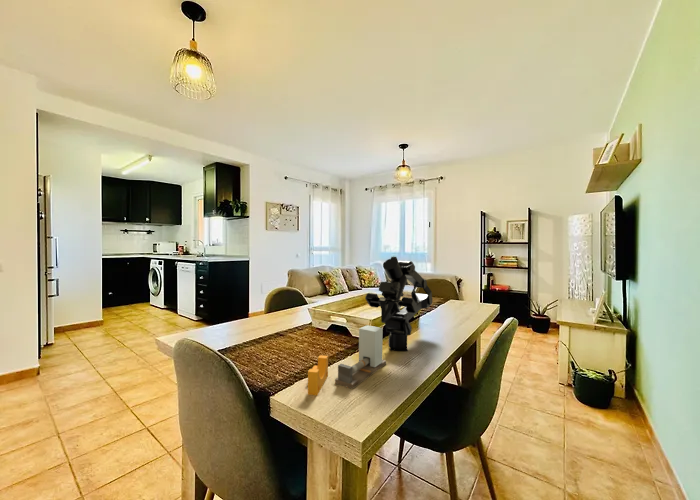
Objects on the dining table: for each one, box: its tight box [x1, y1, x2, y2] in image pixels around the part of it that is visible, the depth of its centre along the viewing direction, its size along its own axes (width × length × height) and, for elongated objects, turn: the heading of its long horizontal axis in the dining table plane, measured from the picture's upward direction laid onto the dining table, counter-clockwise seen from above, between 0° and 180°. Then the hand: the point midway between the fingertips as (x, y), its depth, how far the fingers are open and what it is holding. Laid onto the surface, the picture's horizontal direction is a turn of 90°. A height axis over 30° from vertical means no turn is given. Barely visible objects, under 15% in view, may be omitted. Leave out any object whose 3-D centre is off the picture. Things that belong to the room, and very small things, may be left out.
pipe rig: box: [334, 357, 387, 390], centre depth 95 cm, size 21×6×6 cm, turn 146°
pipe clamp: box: [307, 355, 329, 397], centre depth 87 cm, size 12×4×6 cm, turn 170°
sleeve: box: [358, 324, 384, 367], centre depth 99 cm, size 5×6×11 cm
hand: (382, 322), depth 106 cm, fingers closed
